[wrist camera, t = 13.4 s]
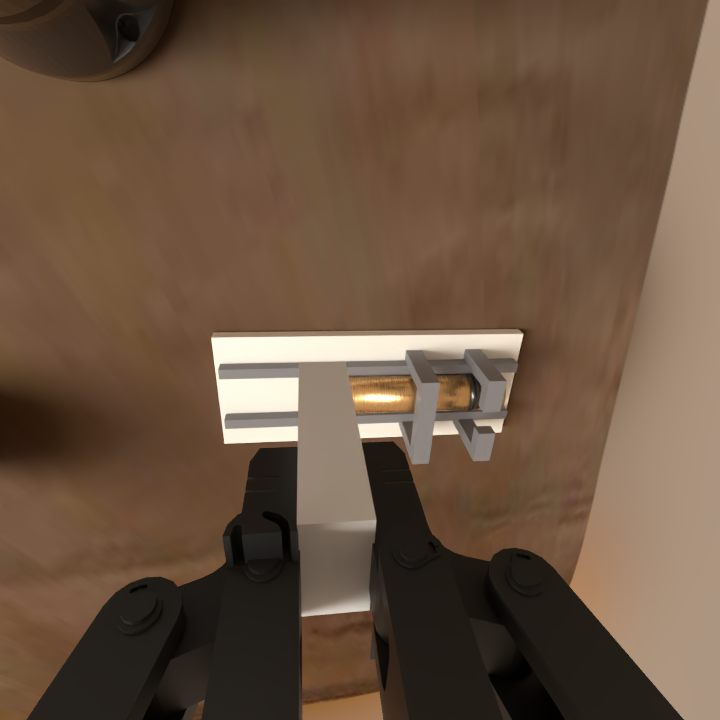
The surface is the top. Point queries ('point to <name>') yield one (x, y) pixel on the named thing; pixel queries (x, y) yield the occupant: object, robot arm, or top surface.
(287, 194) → the top surface
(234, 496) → the top surface
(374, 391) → the tube
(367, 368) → the white grey flat rack
